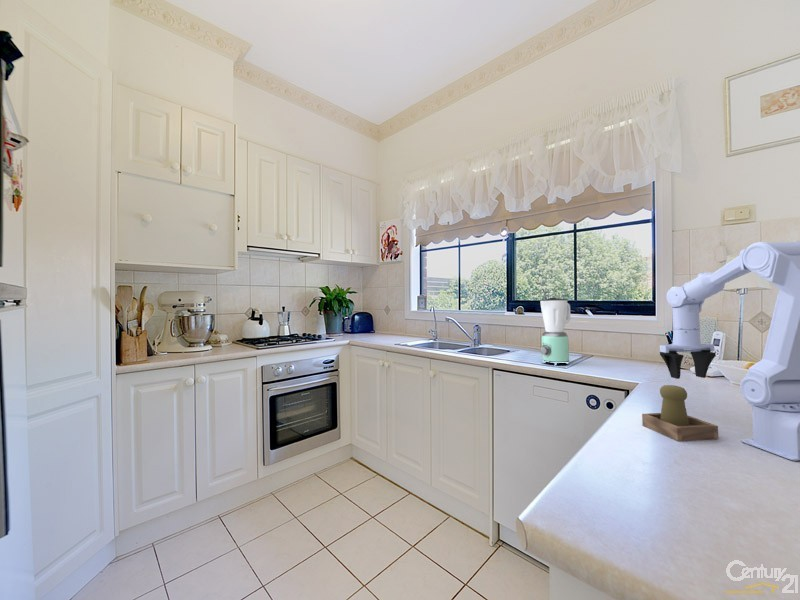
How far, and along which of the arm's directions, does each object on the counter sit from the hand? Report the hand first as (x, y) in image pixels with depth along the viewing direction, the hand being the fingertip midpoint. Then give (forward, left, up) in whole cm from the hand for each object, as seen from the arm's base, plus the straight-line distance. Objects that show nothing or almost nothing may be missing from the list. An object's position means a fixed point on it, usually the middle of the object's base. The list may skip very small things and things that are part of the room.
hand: (688, 377), depth 92 cm
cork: (-10, +14, -11) cm, 20 cm away
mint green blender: (+82, -7, -11) cm, 83 cm away
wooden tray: (-11, +14, -10) cm, 21 cm away
